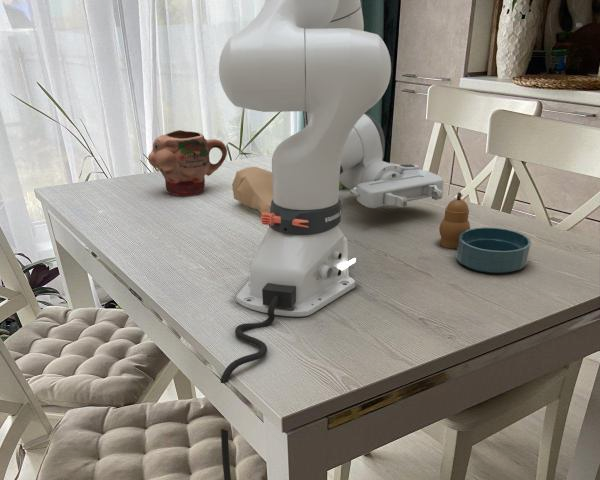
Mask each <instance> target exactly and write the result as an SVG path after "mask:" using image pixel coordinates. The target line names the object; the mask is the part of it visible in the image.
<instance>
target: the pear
mask: <svg viewBox="0 0 600 480" xmlns="http://www.w3.org/2000/svg"><path fill="white" fill-rule="evenodd" d="M463 196H464V194H462V193H461V192H460V191H459V192H457V195H456V198H455V199H452V200H451V201H450V202H449V203H448V204H447V205H446V207H445V210H444V218H443V219H442V220H441V221H440V225H439V236H440V241H439V244H440V246H442V247H443V248H446V249H455V250H457V245H458V238H459V235H460V234H461V233H462V232H464V231H466V230H469V229H471V224H470V220H469V213H470V208H469V205H468V203H467V201H465V200H464V199H462V197H463Z"/></svg>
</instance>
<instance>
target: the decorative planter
mask: <svg viewBox="0 0 600 480" xmlns="http://www.w3.org/2000/svg"><path fill="white" fill-rule="evenodd" d="M215 148H216V149H219V150H220V152H221V157H220V159H219V160H218V162H216V163H212V162H211V160H210V152H211V150H212V149H215ZM227 155H228V149H227V147H226V145H225V143H224V142H223V141H221V140H219V139H215V138H213V139H212V138H211V139H206V138H205V136H204V134H202V133H201V132H196V131H189V130H188V131H186V130H181V129H178V130H174V131H170V132H167V133H165V134H161V135H159V136H157V137H156V138H155V139H154V141H153V143H152V150H151V151H150V152H149V154H148V156H147V157H148V158H147V159H148V163H149V165H151V166H152V167H154V168H155V169H157V170H159V171H160V173H161V174H162V176H163V178H164V181H165V190H166V192H167V193H168V194H170V195H173V196H180V197H181V196H182V197H189V196H197V195H200V194H202V193H203V192H204V191H205V186H206V179H205V176H208V177H210V176H212V174H213V173H214V172H216V171H217V170H218V169H219V168H220V167H221V166H222V165H223V163H224V161H225V160H226V158H227Z"/></svg>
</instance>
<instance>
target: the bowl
mask: <svg viewBox="0 0 600 480" xmlns="http://www.w3.org/2000/svg"><path fill="white" fill-rule="evenodd" d="M531 247H532V240H531V238H529V237H528V236H527V235H525V234H523V233H521V232H519V231H517V230H512V229H508V228H502V227H490V226H489V227H487V226H486V227H474V228H470V229H469V230H466V231H464V232H462V233H461V234H460V235H459V238H458V245H457V248H456V253H455V257H456V261H458V262H459V263H460V264H461V265H463V266H465V267H466V268H468V269H471V270H473V271H476V272H480V273H485V274H507V273H513V272H515V271H519V270H522V269H523V268H525V267H526V266H527V264H528V261H529V256H530V252H531Z"/></svg>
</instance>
